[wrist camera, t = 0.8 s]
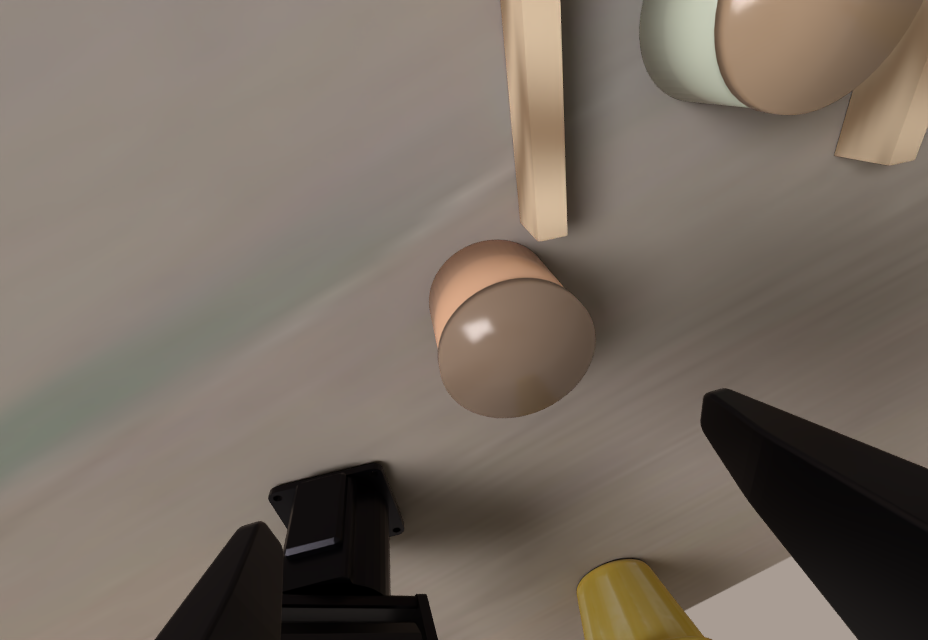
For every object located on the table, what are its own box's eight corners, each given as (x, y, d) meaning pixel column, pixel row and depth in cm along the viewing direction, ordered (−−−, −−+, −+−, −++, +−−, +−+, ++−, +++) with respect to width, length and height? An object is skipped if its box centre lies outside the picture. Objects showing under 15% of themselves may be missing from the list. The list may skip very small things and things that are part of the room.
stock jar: (771, 89, 18) (893, 95, 14) (632, 117, 17) (713, 132, 13) (811, -113, 15) (987, -187, 10) (641, -84, 14) (752, -149, 10)
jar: (554, 336, 22) (595, 398, 18) (440, 363, 22) (454, 432, 18) (548, 224, 19) (596, 267, 15) (414, 253, 19) (424, 306, 15)
